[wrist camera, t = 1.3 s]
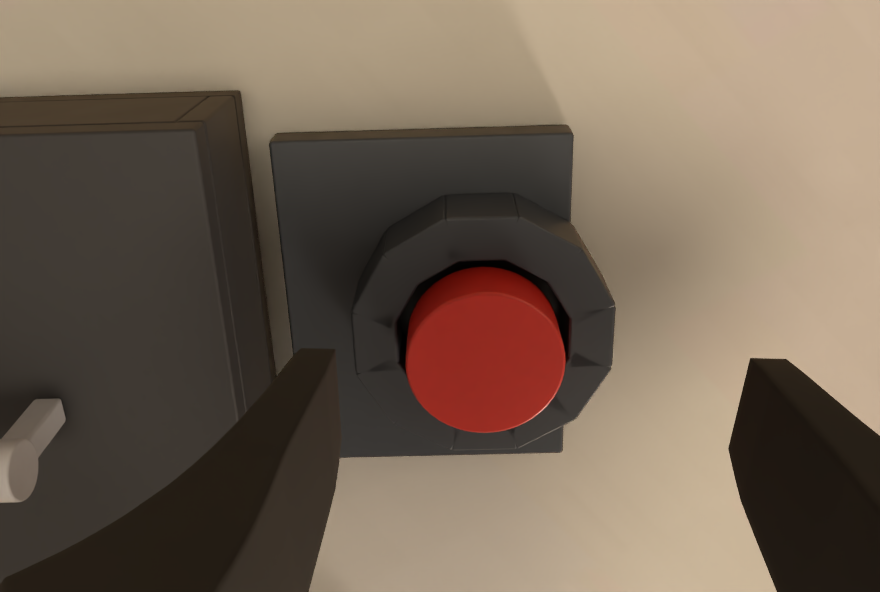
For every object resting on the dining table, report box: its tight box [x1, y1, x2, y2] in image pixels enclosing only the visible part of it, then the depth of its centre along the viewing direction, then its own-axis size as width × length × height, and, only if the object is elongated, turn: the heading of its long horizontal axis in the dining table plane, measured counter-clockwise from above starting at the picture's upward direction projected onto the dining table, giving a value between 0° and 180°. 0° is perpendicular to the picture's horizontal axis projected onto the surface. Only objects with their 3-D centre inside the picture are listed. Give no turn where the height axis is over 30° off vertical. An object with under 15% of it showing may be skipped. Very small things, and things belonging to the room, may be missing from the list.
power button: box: [405, 267, 566, 433], centre depth 22 cm, size 4×4×2 cm
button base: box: [269, 125, 616, 458], centre depth 24 cm, size 10×9×3 cm
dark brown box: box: [0, 91, 276, 412], centre depth 24 cm, size 12×13×4 cm
